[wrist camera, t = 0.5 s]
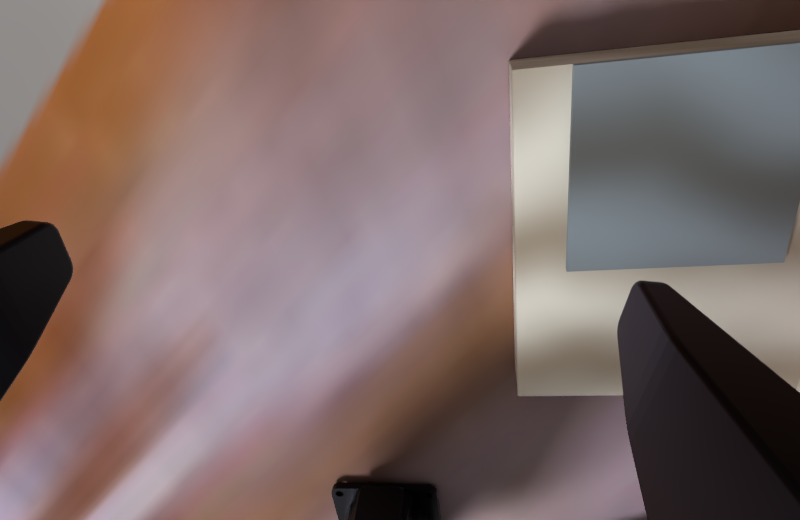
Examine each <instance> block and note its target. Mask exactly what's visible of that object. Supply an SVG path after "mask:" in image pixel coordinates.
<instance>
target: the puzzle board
mask: <svg viewBox="0 0 800 520" xmlns="http://www.w3.org/2000/svg"><path fill="white" fill-rule="evenodd" d="M509 94H510V143H511V193H512V243H513V293H514V342H515V373H516V382H517V392H518V396H623V388H622V378H621V368H620V359H619V349H618V339H617V328H618V322H619V319H620V316H621V314H622V311H623V309H624V306H625V303H626V301H627V298H628V296H629V293H630V290H631V288H632V286H633V285H634V284H635V282H637V281H640V280H643V281H653V282H663V283H666V284H668V285H669V286H671V287H672V288H673V289H674V290H675V291H677V292H678V293H679V294H680V295H681V296H683V297H684V298H685V299H686V300H688V301H689V302H690V303H691V304H692V305H694V306H695V307H696V308H697V309H699V310H700V311H701V312H702V313H703V314H705V315H706V316H707V317H708V318H709V319H711V320H712V321H713V322H714V323H716V324H717V325H718V326H719V327H720V328H722V329H723V330H724V331H725V332H727V333H728V334H729V335H730V336H731V337H733V338H734V339H735V340H736V341H738V342H739V343H740V344H741V345H742V346H744V347H745V348H746V349H747V350H748V351H750V352H751V353H752V354H753V355H755V356H756V357H757V358H758V359H759V360H761V361H762V362H763V363H764V364H766V365H767V366H768V367H769V368H770V369H772V370H773V371H774V372H775V373H776V374H778V375H779V376H780V377H781V378H783V379H784V380H785V381H786V382H787V383H789V384H790V385H791V386H792V387H794V388H795V389H796V390H797V391H798V392H800V30H794V31H785V32H775V33H765V34H756V35H746V36H737V37H727V38H717V39H708V40H698V41H688V42H679V43H669V44H659V45H650V46H640V47H631V48H621V49H611V50H602V51H592V52H582V53H573V54H563V55H553V56H544V57H534V58H524V59H515V60H509Z"/></svg>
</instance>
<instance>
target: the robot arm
mask: <svg viewBox="0 0 800 520" xmlns="http://www.w3.org/2000/svg"><path fill="white" fill-rule="evenodd" d="M72 273H73V265H72V261H71V259H70V257H69V254H68V252H67V250H66V247H65V245H64V243H63V240H62V238H61V236H60V233H59V231H58V229H57V228H56V227H55V226H54V225H53V224H51V223H48V222H40V221H29V220H26V221H21V222H18V223H15V224H12V225H9V226H6V227H3V228H1V229H0V401H1V399H2V398H3V396H4V395H5V393H6V392H7V390H8V389H9V387H10V386H11V384H12V383H13V381H14V380H15V378H16V377H17V375H18V374H19V372H20V371H21V369H22V368H23V366H24V365H25V363H26V361H27V360H28V358H29V357H30V355H31V353H32V351H33V350H34V348H35V346H36V344H37V342H38V340H39V339H40V337H41V335H42V333H43V331H44V329H45V327H46V325H47V323H48V321H49V320H50V318H51V316H52V314H53V312H54V310H55V308H56V306H57V304H58V302H59V301H60V299H61V297H62V295H63V293H64V291H65V289H66V287H67V285H68V283H69V282H70V280H71V277H72ZM617 339H618V349H619V359H620V368H621V378H622V388H623V398H624V407H625V416H626V424H627V430H628V435H629V440H630V445H631V449H632V453H633V458H634V462H635V467H636V471H637V475H638V480H639V484H640V488H641V493H642V497H643V501H644V506H645V510H646V514H647V519H648V520H800V392H798V391H797V390H796V389H795V388H794V387H792V386H791V385H790V384H789V383H787V382H786V381H785V380H784V379H783V378H781V377H780V376H779V375H778V374H776V373H775V372H774V371H773V370H772V369H770V368H769V367H768V366H767V365H766V364H764V363H763V362H762V361H761V360H759V359H758V358H757V357H756V356H755V355H753V354H752V353H751V352H750V351H748V350H747V349H746V348H745V347H744V346H742V345H741V344H740V343H739V342H738V341H736V340H735V339H734V338H733V337H731V336H730V335H729V334H728V333H727V332H725V331H724V330H723V329H722V328H720V327H719V326H718V325H717V324H716V323H714V322H713V321H712V320H711V319H709V318H708V317H707V316H706V315H705V314H703V313H702V312H701V311H700V310H699V309H697V308H696V307H695V306H694V305H692V304H691V303H690V302H689V301H688V300H686V299H685V298H684V297H683V296H681V295H680V294H679V293H678V292H677V291H675V290H674V289H673V288H672V287H671V286H669V285H668V284H666V283H663V282H653V281H643V280H640V281H637V282H635V284H634V285H633V286H632V288H631V290H630V293H629V296H628V298H627V301H626V303H625V306H624V309H623V311H622V314H621V316H620V319H619V322H618V328H617ZM332 497H333V501H334V504H335V508H336V512H337V515H338V519H339V520H441V515H440V508H439V500H438V492H437V488H436V487H435V486H433V485H424V484H371V483H336V484H334V486H333V489H332Z"/></svg>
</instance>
